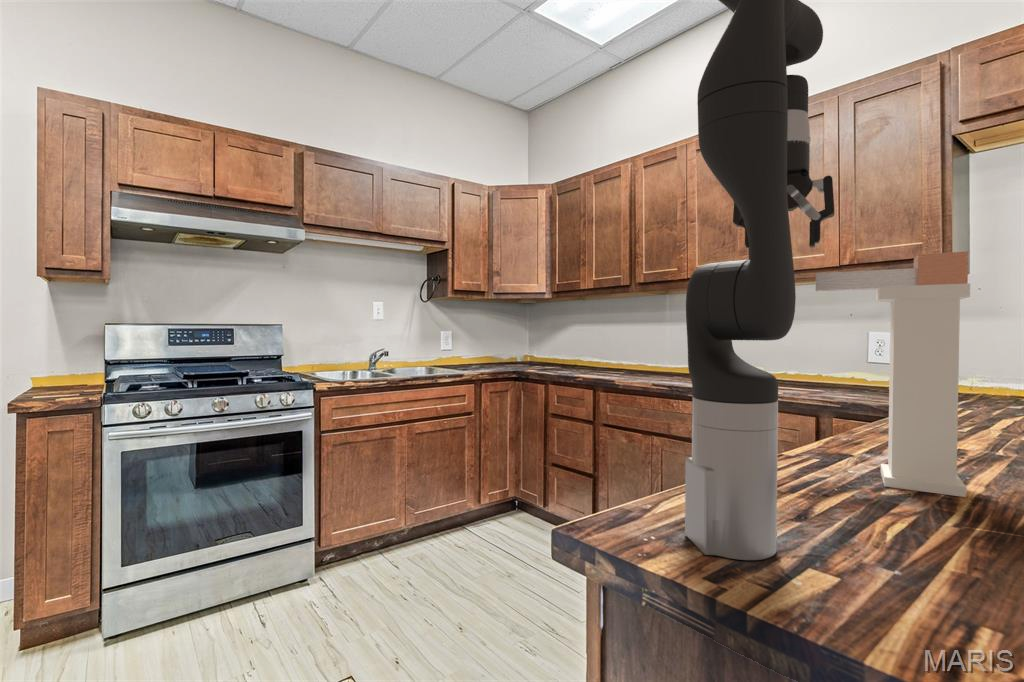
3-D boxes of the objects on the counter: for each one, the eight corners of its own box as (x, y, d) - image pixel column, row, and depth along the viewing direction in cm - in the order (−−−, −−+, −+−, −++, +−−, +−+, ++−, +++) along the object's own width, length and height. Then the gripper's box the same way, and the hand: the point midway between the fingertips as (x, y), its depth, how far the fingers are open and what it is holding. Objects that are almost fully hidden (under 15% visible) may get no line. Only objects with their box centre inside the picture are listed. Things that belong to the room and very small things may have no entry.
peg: (815, 289, 90) (815, 260, 90) (816, 292, 95) (817, 264, 95) (967, 284, 79) (968, 251, 79) (959, 287, 84) (960, 256, 84)
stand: (876, 485, 84) (879, 286, 83) (873, 471, 92) (876, 290, 92) (966, 497, 78) (970, 283, 77) (954, 480, 86) (957, 288, 86)
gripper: (730, 148, 83) (729, 249, 84) (834, 130, 76) (833, 241, 76) (738, 161, 90) (737, 255, 90) (835, 145, 82) (834, 248, 82)
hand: (781, 249), depth 83 cm, fingers open, 8 cm apart
